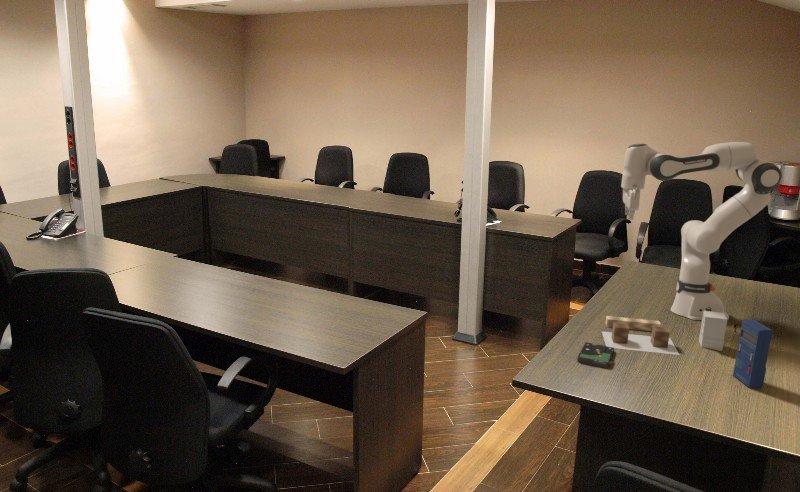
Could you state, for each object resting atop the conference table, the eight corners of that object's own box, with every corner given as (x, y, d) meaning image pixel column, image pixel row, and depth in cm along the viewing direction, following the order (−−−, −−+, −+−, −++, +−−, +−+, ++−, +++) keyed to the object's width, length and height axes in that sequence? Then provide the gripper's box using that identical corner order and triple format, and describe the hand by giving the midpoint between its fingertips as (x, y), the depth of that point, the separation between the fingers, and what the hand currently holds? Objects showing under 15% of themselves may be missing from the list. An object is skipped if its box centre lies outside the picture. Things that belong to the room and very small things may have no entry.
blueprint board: (669, 339, 240) (670, 338, 240) (679, 356, 225) (679, 354, 224) (601, 332, 244) (601, 331, 244) (606, 348, 229) (606, 347, 229)
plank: (657, 330, 250) (659, 320, 249) (659, 334, 246) (661, 324, 245) (605, 325, 254) (606, 315, 253) (606, 328, 250) (607, 319, 249)
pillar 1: (625, 338, 238) (627, 323, 236) (627, 343, 233) (629, 328, 231) (611, 337, 238) (613, 322, 237) (613, 342, 234) (615, 327, 232)
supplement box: (719, 344, 237) (724, 312, 234) (722, 352, 230) (727, 319, 227) (698, 341, 239) (703, 309, 236) (700, 348, 232) (705, 316, 229)
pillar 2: (664, 342, 235) (666, 327, 233) (667, 348, 230) (669, 332, 229) (650, 341, 236) (652, 326, 234) (653, 346, 231) (655, 331, 230)
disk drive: (584, 349, 230) (576, 363, 217) (584, 341, 230) (577, 355, 216) (613, 354, 226) (608, 369, 213) (614, 347, 225) (609, 362, 212)
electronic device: (731, 375, 210) (741, 319, 206) (745, 375, 211) (756, 319, 206) (748, 388, 201) (759, 330, 196) (764, 388, 202) (775, 330, 197)
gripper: (645, 188, 246) (640, 222, 250) (637, 181, 266) (633, 213, 269) (628, 187, 248) (624, 221, 251) (621, 180, 267) (617, 212, 270)
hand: (628, 217), depth 260 cm, fingers open, 8 cm apart
